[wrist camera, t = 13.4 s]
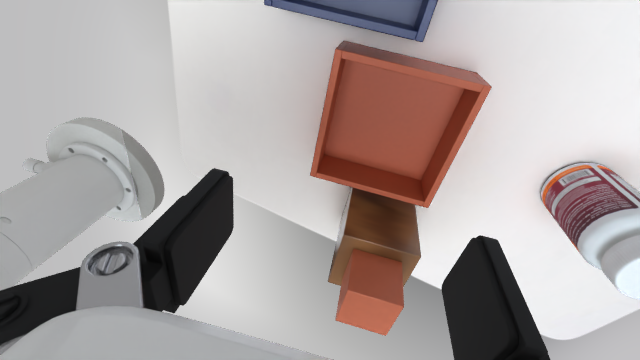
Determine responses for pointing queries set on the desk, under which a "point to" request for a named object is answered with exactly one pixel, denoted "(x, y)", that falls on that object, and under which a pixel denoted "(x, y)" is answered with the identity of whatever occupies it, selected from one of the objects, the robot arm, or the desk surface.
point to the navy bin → (369, 14)
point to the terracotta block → (371, 292)
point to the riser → (376, 232)
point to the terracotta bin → (394, 122)
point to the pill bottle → (599, 220)
